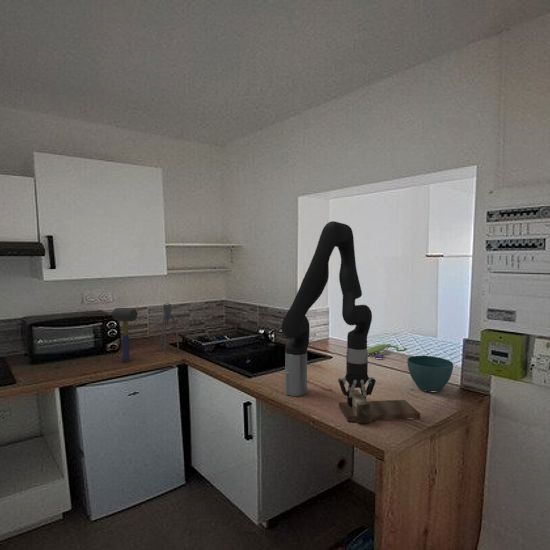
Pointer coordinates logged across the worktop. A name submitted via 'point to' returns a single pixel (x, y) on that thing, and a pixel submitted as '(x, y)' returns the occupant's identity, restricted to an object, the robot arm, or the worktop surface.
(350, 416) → the walnut plank
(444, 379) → the plant pot
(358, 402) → the beige wooden block
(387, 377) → the worktop surface
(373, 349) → the figurine
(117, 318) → the rubber mallet
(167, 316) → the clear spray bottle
